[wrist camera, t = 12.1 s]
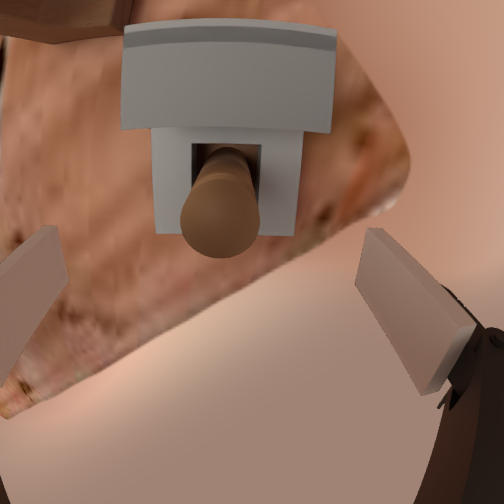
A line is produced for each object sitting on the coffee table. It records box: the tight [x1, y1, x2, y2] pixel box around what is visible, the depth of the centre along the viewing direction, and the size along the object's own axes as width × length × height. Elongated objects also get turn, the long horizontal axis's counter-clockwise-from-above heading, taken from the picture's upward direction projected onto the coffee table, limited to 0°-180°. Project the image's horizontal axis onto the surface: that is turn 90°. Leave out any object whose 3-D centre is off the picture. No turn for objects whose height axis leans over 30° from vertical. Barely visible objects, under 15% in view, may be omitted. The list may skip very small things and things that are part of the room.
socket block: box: [121, 18, 337, 236], centre depth 22 cm, size 12×16×11 cm
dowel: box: [180, 147, 260, 258], centre depth 22 cm, size 4×4×14 cm
